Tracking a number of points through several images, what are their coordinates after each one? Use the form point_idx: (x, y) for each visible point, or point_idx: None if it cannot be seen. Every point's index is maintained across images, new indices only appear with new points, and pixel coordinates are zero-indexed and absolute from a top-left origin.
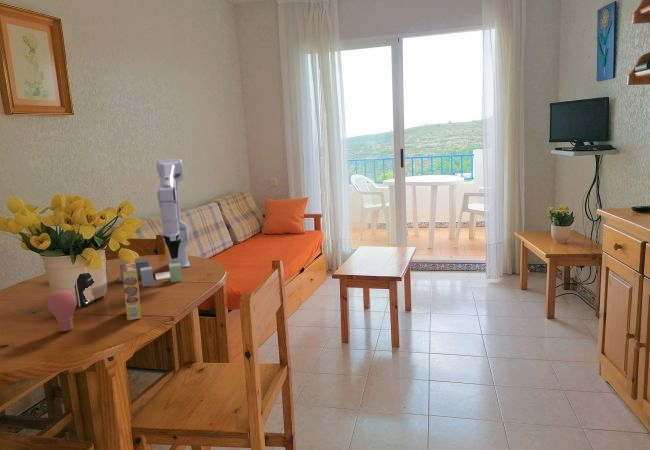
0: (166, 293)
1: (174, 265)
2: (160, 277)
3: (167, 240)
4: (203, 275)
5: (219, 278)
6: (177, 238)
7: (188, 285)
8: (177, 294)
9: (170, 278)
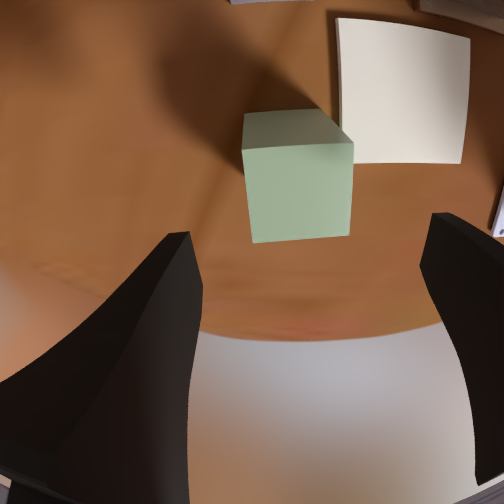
0: (39, 115)
1: (278, 193)
2: (366, 49)
3: (31, 486)
4: (303, 284)
5: (218, 334)
6: (475, 434)
7: (143, 215)
8: (22, 174)
9: (293, 113)
